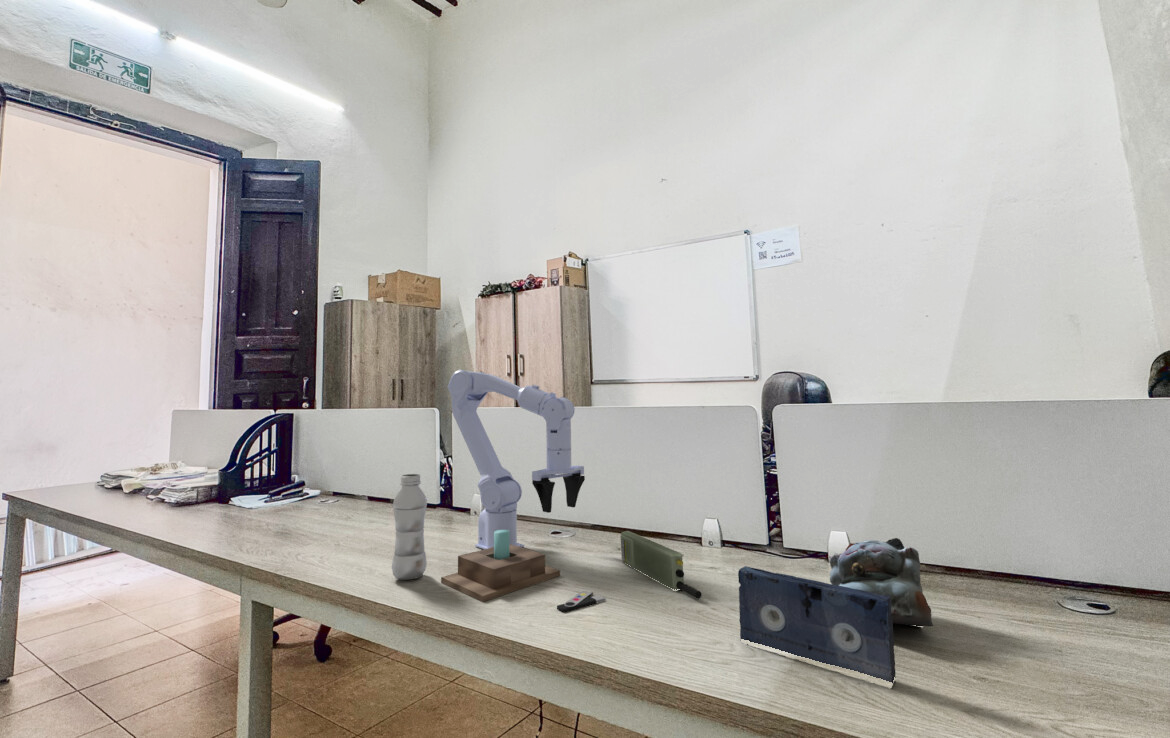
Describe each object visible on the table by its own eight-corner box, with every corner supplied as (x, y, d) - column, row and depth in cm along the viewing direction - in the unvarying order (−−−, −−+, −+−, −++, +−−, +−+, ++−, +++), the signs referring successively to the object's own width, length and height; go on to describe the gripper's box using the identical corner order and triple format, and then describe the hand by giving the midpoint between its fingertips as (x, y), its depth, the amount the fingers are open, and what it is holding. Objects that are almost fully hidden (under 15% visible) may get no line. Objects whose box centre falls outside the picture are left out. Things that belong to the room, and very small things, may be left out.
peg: (491, 573, 95) (491, 531, 96) (504, 570, 97) (504, 529, 98) (499, 577, 93) (499, 534, 94) (512, 573, 95) (512, 531, 96)
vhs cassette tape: (897, 682, 58) (892, 595, 59) (892, 693, 56) (887, 602, 57) (748, 636, 70) (745, 564, 71) (739, 643, 68) (736, 569, 69)
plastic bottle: (431, 572, 99) (433, 472, 101) (417, 584, 93) (419, 477, 94) (401, 572, 100) (403, 472, 102) (384, 583, 93) (387, 477, 95)
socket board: (441, 582, 94) (441, 558, 94) (516, 561, 106) (516, 539, 107) (482, 601, 84) (482, 574, 84) (560, 575, 97) (559, 552, 97)
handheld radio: (633, 561, 106) (707, 601, 84) (619, 564, 105) (692, 605, 82) (631, 529, 107) (705, 560, 84) (618, 532, 105) (689, 564, 83)
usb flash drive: (563, 615, 79) (563, 609, 79) (547, 605, 83) (547, 599, 83) (606, 603, 84) (606, 597, 84) (589, 594, 88) (588, 588, 88)
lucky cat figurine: (806, 619, 75) (802, 528, 83) (855, 635, 80) (846, 547, 87) (908, 622, 64) (892, 516, 71) (957, 641, 69) (938, 540, 76)
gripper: (546, 452, 106) (546, 517, 104) (592, 448, 116) (593, 506, 115) (525, 450, 110) (526, 512, 109) (572, 446, 121) (572, 503, 120)
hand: (559, 509), depth 112 cm, fingers open, 7 cm apart
